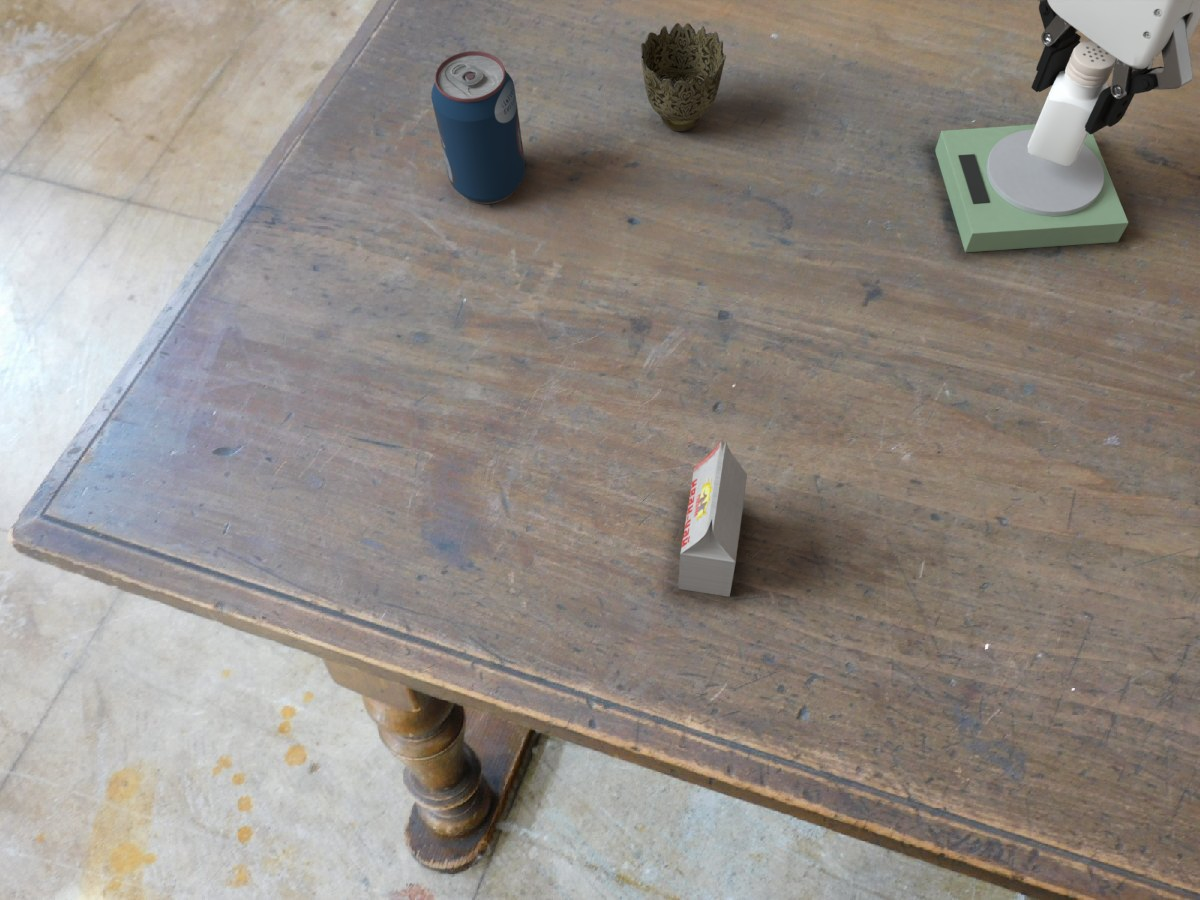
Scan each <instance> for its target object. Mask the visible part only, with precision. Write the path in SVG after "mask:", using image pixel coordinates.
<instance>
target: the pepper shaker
mask: <svg viewBox="0 0 1200 900" xmlns="http://www.w3.org/2000/svg"><path fill="white" fill-rule="evenodd" d="M1115 58H1116V57H1114V56H1113V55H1111V54H1110V53H1108V52H1107V51H1106V50H1104V49H1103V48H1101V47H1100V46H1099V45H1097V44H1096V43H1095V42H1093V41H1092V40H1090V39H1089V40H1085V41H1080V43H1079V44H1078V45H1077V46H1076V47H1075V48H1074V50H1073V52H1072V54H1071V57H1070V59H1069V62H1068V64H1067V66H1066V70H1065V71H1061V72H1059V73H1058V75H1057V77H1056V80H1055V82H1054V84H1053V85H1052V86H1051V87H1050V90H1049V92H1048V94H1047V97H1046V99H1045V102H1044V104H1043V107H1042V108H1041V111H1040V114H1039V116H1038V119H1037V121H1036V126H1035V128H1034V131H1033V133H1032V136H1031V138H1030V140H1029V143H1028V145H1027V146H1028V153H1030V154H1031V155H1033V156H1036V157H1039V158H1042V159H1045V160H1048V161H1051V162H1055V163H1058V164H1061V165H1064V166H1070V165H1071V164H1073V163H1074V162H1075V161H1076V159H1077V157H1078V155H1079V153H1080V151H1081V149H1082V146H1083V144H1084V142H1085V140H1086V138H1087V136H1088V134H1089V133H1088V132H1087V131H1085V129H1086V128H1085V125H1086V123H1087V121H1088V118H1089V116H1090V114H1091V112H1092V110H1093V108H1094V106H1095V103H1096V101H1097V99H1098V97H1099V95H1100V93H1101V92H1102V91H1103V90H1104V89H1106V88H1108V87H1109V86H1110V85H1109V84H1108V80H1109V78H1110V76H1111V74H1112V73H1113V70H1114V64H1115Z"/></svg>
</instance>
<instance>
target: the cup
mask: <svg viewBox="0 0 1200 900" xmlns="http://www.w3.org/2000/svg"><path fill="white" fill-rule="evenodd" d="M706 32H707V31H706V29H705V26H704V25H701V26H700V27H699V28H698V29H697V32H696V30H695V28H693V26H692V25H691V24H690V23H689V22H687V23H685V24H684V26H682V25H681V24H680V23H679V22H676V23H675V24H674V25H673V26H672V28H671V29H670V31H668V26H666V25H664V26H662V27H661V29H660V32H659V34H657V33H655V32H652V31H650V32H649V33H648V34H647V35H646V38H645V40H644V41H645V42H642V43H641V44H640V53H641V68H642V76H643V83H644V88H645V93H646V96H647V99H648V102H649V104H650V106H651V107H652V109H653V110H654V112H656V113H657V114H658V116H660V117H661V120H662V122H663V124H664V125H665V126H666V127H667V128H668V129H670V130H673V131H676V132H685V131H689V130H691V129H693V128H694V127H695V126H696V125H697V124H698V123H699V121H700V119H701V117H702V116H704V115H705V114H706V113H707V112H709V110H710V109H711V107H712V106H713V105H714V102H715V101H716V98H717V95H718V91H719V88H720V84H721V79H722V75H723V70H724V65H725V62H726V58H727V55H726V54H725V53H724V41H723V40H720V37H719V34H718V32H717V31H711V32H708V33H706Z"/></svg>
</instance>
